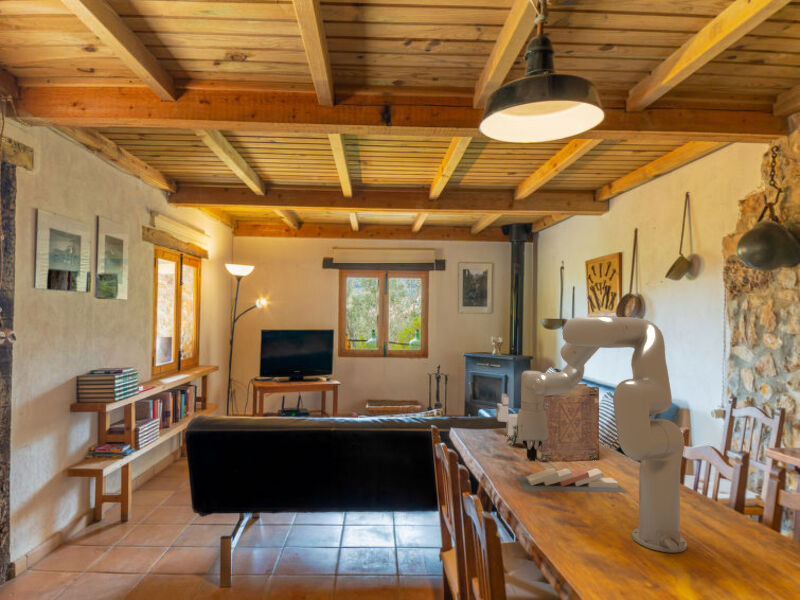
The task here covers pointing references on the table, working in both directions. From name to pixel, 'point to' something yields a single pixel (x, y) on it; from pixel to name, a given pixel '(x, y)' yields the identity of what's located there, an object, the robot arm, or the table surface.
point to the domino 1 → (542, 476)
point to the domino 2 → (560, 477)
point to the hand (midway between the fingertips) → (531, 459)
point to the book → (572, 426)
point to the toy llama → (506, 414)
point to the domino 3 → (575, 477)
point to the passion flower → (513, 437)
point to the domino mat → (565, 487)
